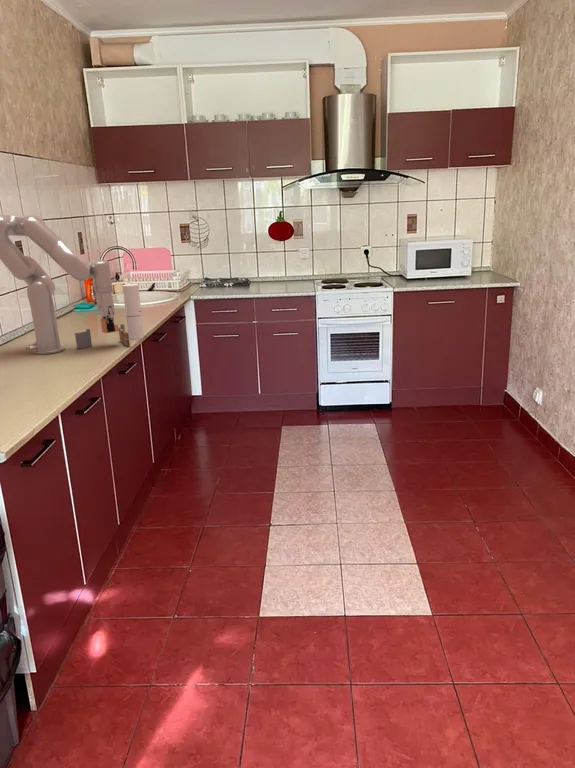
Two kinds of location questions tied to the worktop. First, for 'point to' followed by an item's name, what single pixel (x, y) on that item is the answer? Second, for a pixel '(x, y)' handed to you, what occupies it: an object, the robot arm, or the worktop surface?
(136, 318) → the cylindrical container
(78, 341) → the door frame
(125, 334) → the door
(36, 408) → the worktop surface
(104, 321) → the orange l-shaped block
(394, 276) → the worktop surface
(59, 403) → the worktop surface
